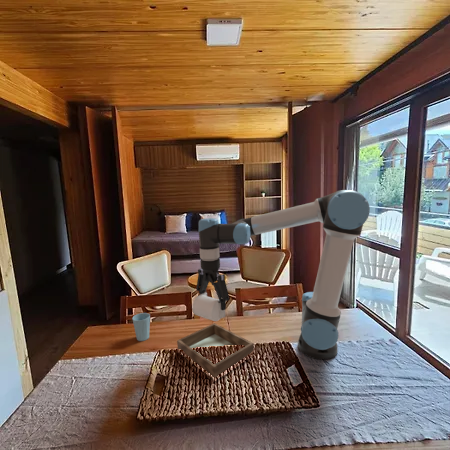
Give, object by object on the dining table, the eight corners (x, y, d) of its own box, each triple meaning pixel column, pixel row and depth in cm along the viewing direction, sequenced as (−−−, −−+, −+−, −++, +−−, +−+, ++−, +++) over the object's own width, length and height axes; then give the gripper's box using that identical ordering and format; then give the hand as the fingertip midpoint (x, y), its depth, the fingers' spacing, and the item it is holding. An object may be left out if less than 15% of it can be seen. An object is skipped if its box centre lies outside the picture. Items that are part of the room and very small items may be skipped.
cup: (153, 339, 121) (151, 318, 120) (135, 344, 118) (133, 322, 117) (150, 332, 128) (148, 311, 127) (133, 336, 125) (131, 315, 124)
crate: (253, 356, 106) (253, 343, 105) (215, 381, 93) (214, 367, 92) (215, 334, 124) (214, 323, 123) (178, 353, 110) (177, 340, 110)
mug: (211, 325, 98) (210, 304, 97) (192, 318, 104) (191, 298, 103) (231, 312, 107) (230, 293, 107) (212, 307, 114) (211, 289, 113)
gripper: (237, 261, 97) (240, 318, 100) (200, 252, 114) (203, 301, 117) (222, 265, 92) (225, 326, 95) (185, 255, 109) (188, 307, 112)
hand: (213, 312), depth 106 cm, fingers closed on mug, 10 cm apart
